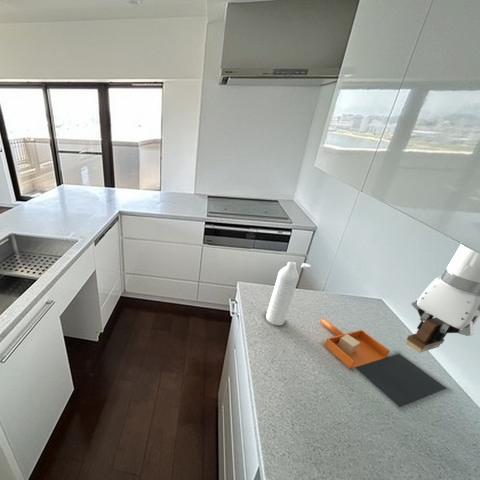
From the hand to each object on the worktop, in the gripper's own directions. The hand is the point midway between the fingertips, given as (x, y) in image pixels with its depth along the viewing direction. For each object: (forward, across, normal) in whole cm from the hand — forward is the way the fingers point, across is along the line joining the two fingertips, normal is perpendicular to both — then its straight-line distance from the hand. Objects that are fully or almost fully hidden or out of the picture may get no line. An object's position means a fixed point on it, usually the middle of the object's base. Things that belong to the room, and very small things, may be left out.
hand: (427, 336), depth 70 cm
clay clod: (+15, +12, +8) cm, 21 cm away
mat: (+16, 0, +2) cm, 16 cm away
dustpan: (+16, +15, +6) cm, 23 cm away
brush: (+3, 0, 0) cm, 3 cm away
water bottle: (+16, +29, +21) cm, 39 cm away
